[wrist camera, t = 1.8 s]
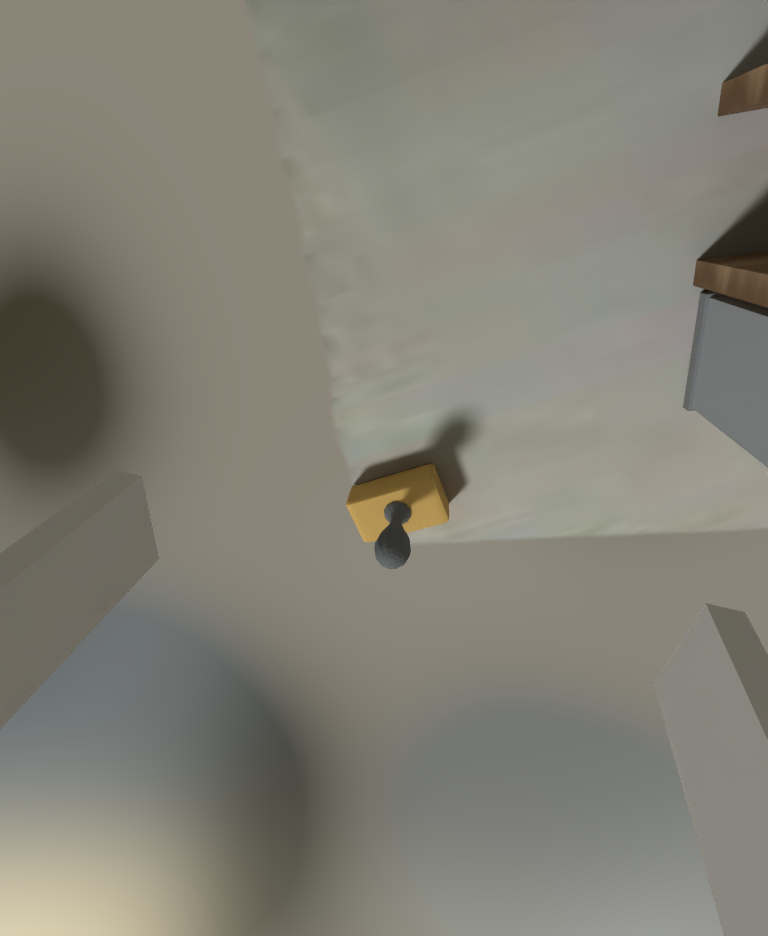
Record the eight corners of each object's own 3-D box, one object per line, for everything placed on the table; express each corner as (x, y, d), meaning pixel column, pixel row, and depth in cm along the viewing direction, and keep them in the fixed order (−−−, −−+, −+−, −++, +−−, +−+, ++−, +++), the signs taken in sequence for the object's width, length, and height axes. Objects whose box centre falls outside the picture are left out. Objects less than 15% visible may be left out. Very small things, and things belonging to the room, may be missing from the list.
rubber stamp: (433, 461, 52) (431, 525, 42) (449, 504, 54) (452, 575, 44) (350, 485, 55) (328, 551, 44) (369, 525, 57) (353, 597, 46)
